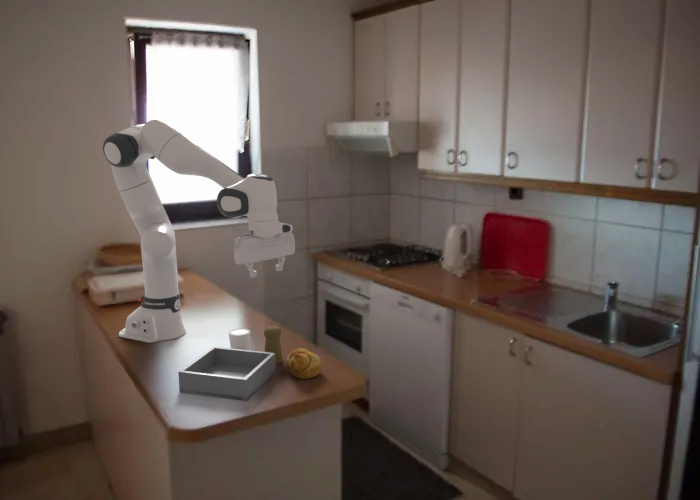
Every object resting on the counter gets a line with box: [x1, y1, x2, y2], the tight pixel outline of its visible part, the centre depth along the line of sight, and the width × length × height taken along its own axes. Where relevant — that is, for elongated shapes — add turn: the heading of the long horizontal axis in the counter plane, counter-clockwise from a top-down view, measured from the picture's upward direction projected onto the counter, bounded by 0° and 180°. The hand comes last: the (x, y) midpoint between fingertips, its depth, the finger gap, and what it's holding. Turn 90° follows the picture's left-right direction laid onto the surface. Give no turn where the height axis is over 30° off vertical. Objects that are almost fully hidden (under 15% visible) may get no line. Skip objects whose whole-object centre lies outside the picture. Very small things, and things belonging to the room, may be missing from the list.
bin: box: [178, 346, 276, 402], centre depth 177 cm, size 20×20×6 cm
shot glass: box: [228, 328, 251, 350], centre depth 199 cm, size 7×7×7 cm
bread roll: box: [285, 347, 322, 380], centre depth 183 cm, size 13×10×8 cm
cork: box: [263, 325, 284, 366], centre depth 192 cm, size 6×6×11 cm
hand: (266, 273), depth 189 cm, fingers open, 8 cm apart
